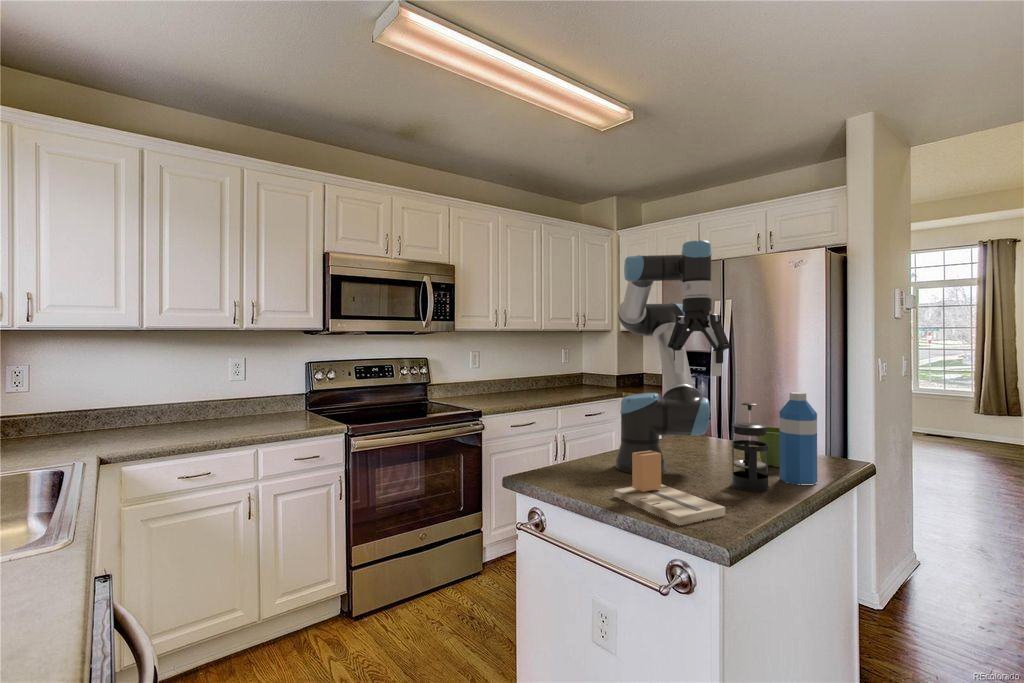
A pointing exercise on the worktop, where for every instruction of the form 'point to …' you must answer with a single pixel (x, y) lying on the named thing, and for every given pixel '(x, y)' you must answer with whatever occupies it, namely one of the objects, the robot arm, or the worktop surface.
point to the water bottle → (798, 441)
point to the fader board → (672, 504)
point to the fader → (646, 470)
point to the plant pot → (771, 446)
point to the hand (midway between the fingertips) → (697, 374)
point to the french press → (750, 457)
